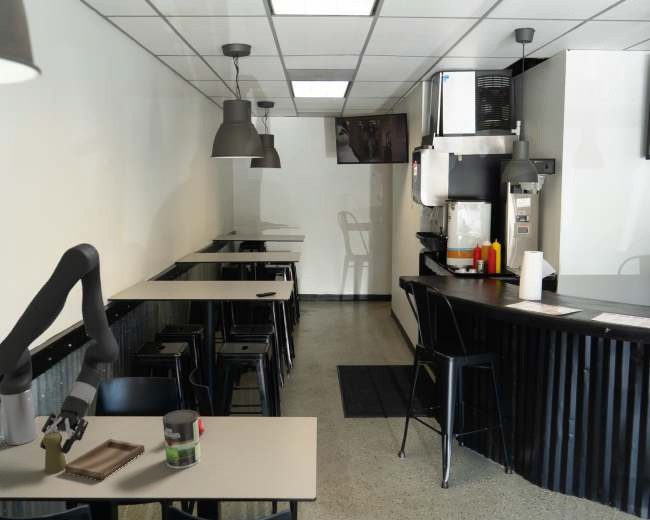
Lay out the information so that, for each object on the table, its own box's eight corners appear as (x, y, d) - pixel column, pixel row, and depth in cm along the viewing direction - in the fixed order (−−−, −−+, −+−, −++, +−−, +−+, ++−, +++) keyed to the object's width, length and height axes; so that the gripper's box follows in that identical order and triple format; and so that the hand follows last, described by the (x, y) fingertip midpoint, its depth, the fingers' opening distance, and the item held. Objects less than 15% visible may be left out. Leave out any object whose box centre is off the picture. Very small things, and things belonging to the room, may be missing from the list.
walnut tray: (65, 473, 173) (64, 465, 173) (110, 446, 190) (109, 439, 189) (101, 481, 168) (101, 473, 167) (144, 452, 184) (144, 445, 184)
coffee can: (184, 472, 171) (180, 426, 169) (159, 464, 176) (154, 419, 174) (208, 456, 179) (205, 412, 177) (184, 449, 185) (180, 407, 183)
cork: (58, 474, 173) (54, 439, 171) (40, 473, 174) (36, 438, 172) (71, 464, 179) (67, 430, 177) (53, 463, 180) (49, 429, 178)
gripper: (54, 392, 184) (27, 442, 175) (88, 397, 178) (62, 449, 169) (69, 401, 189) (44, 451, 181) (103, 407, 184) (78, 458, 175)
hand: (53, 450), depth 175 cm, fingers open, 8 cm apart
